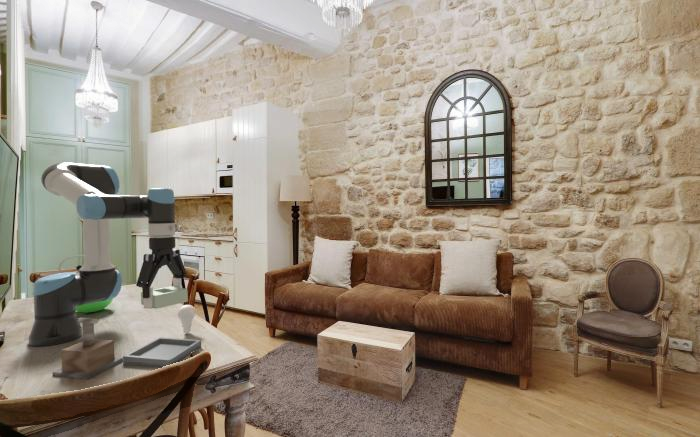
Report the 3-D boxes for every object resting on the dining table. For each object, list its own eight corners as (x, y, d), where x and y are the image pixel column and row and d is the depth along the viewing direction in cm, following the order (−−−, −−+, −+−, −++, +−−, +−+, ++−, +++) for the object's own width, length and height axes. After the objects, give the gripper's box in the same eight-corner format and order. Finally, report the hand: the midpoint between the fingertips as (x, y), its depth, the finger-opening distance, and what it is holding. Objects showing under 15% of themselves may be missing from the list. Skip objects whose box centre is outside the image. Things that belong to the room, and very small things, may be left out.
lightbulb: (176, 337, 131) (176, 307, 131) (179, 331, 137) (179, 303, 137) (194, 335, 133) (194, 306, 132) (197, 330, 139) (196, 302, 138)
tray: (123, 364, 109) (123, 356, 109) (159, 344, 125) (159, 337, 125) (169, 368, 106) (169, 360, 106) (201, 347, 122) (201, 340, 122)
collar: (187, 301, 115) (187, 289, 115) (155, 308, 107) (155, 295, 107) (172, 297, 121) (172, 286, 121) (141, 304, 113) (140, 291, 113)
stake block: (52, 375, 102) (50, 324, 101) (90, 357, 113) (88, 311, 113) (88, 379, 100) (86, 326, 99) (122, 360, 111) (121, 313, 111)
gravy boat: (122, 307, 170) (121, 276, 169) (93, 318, 153) (92, 284, 153) (87, 306, 172) (86, 275, 171) (55, 316, 155) (54, 283, 154)
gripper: (143, 240, 101) (145, 314, 102) (196, 233, 126) (197, 293, 126) (120, 240, 102) (122, 313, 103) (177, 233, 127) (178, 292, 127)
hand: (163, 302), depth 115 cm, fingers closed on collar, 13 cm apart
